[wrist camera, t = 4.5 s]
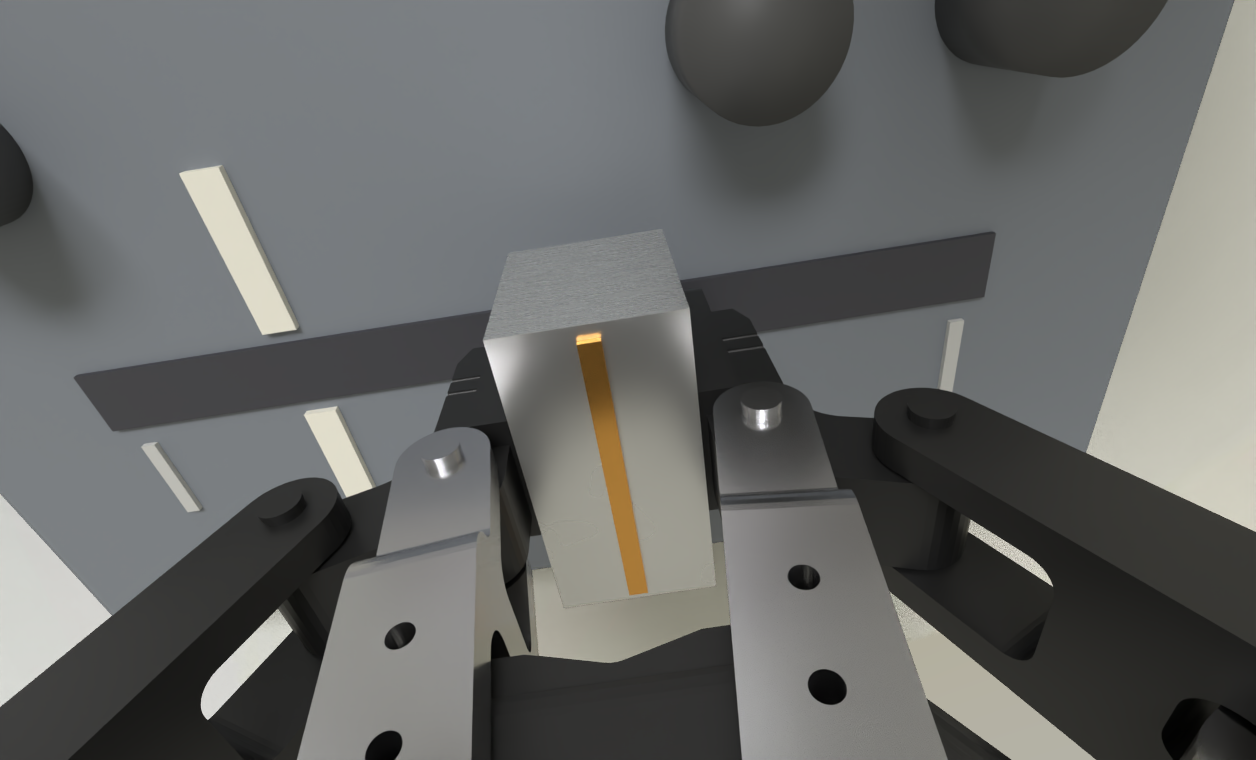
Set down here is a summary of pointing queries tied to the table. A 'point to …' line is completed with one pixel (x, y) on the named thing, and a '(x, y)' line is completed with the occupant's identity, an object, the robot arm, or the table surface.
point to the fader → (605, 414)
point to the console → (541, 217)
